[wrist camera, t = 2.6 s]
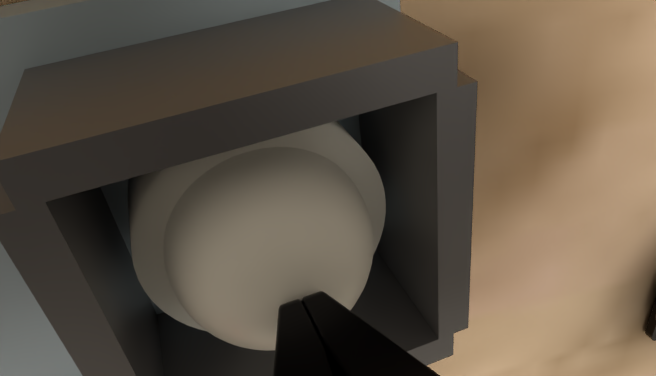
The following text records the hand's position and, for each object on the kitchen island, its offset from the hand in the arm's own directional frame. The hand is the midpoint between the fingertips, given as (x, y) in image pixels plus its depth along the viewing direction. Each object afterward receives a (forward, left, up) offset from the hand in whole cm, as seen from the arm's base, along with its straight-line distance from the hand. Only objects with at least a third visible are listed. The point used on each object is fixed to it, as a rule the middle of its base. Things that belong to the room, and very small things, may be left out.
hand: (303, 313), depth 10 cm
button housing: (0, 0, -5) cm, 5 cm away
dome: (0, 0, -4) cm, 4 cm away
